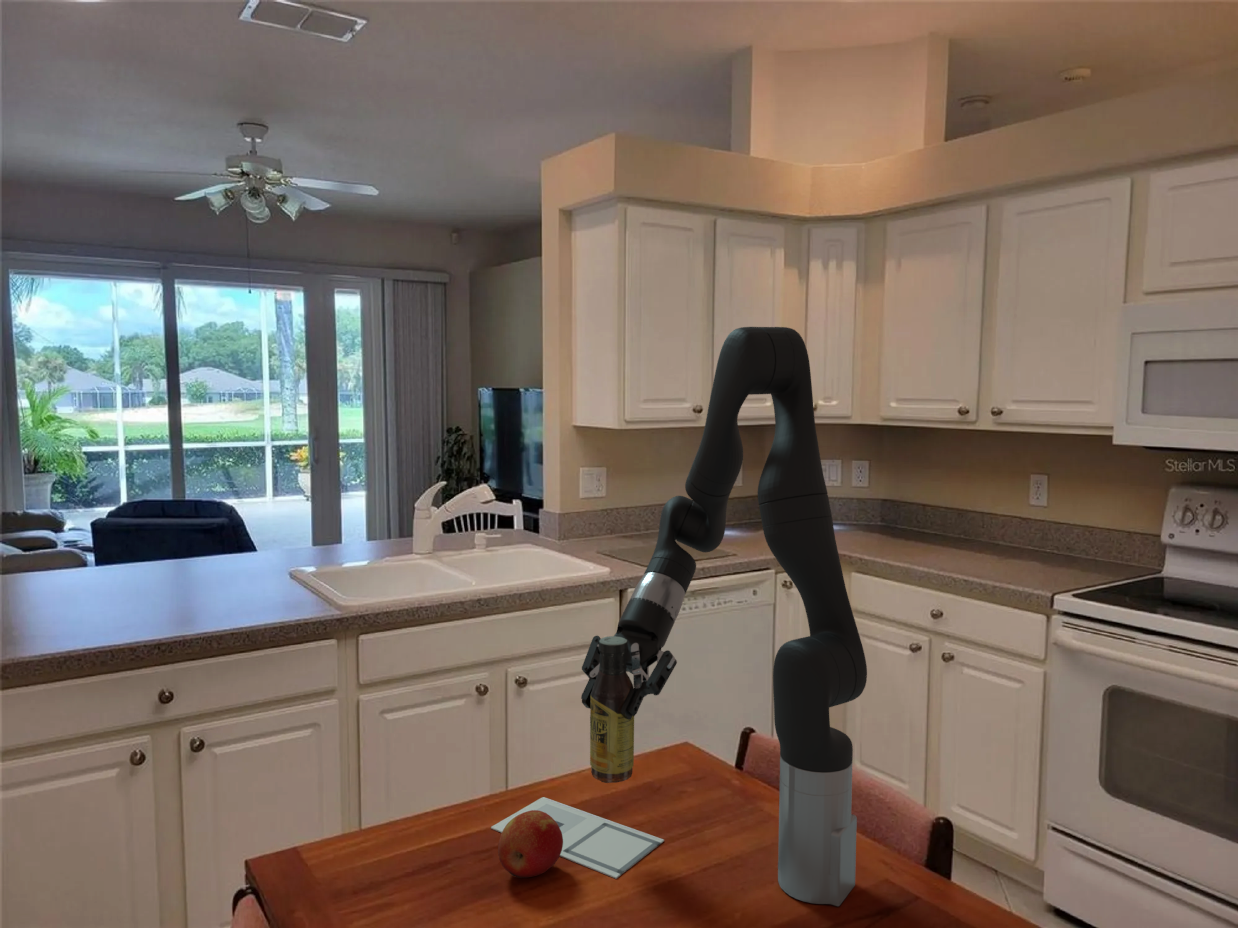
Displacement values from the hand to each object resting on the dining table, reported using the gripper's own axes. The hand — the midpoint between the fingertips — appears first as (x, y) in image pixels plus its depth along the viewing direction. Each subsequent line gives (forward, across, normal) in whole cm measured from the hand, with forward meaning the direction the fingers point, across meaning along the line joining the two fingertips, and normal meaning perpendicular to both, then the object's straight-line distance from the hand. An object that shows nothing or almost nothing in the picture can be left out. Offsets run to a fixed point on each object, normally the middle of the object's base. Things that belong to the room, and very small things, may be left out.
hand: (605, 710), depth 117 cm
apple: (+22, -5, +8) cm, 24 cm away
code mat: (+14, -6, +16) cm, 22 cm away
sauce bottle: (+6, 0, +8) cm, 10 cm away
